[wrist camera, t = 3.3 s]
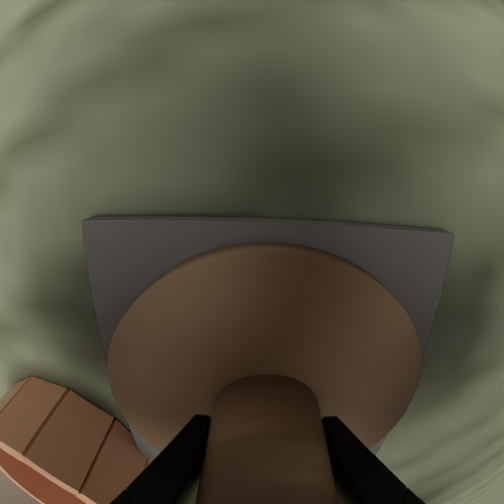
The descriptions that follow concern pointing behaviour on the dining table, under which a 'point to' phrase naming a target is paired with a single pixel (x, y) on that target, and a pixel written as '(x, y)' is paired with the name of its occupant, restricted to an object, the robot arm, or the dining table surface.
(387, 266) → the mat
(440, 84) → the dining table surface
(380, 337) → the lid
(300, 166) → the dining table surface
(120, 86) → the dining table surface
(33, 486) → the bowl
